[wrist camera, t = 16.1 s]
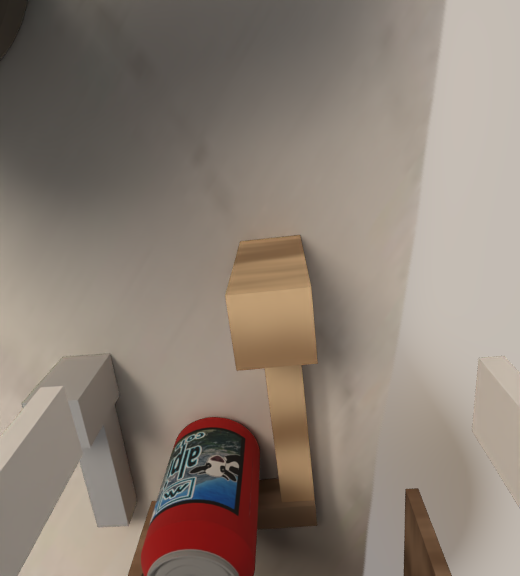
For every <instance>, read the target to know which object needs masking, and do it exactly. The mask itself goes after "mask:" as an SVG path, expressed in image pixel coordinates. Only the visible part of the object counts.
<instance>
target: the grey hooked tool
mask: <svg viewBox="0 0 520 576" xmlns="http://www.w3.org/2000/svg"><path fill="white" fill-rule="evenodd" d="M54 386H64V390H65V393H66V397H67V400H68V404H69V407H70V411H71V414H72V417H73V421H74V424H75V428H76V431H77V435H78V438H79V442H80V445H81V449H82V452H83V455H82V457H81V459H80V460H79V461H80V465H81V469H82V472H83V476H84V479H85V483H86V487H87V490H88V494H89V497H90V501H91V505H92V508H93V512H94V515H95V519H96V523H97V526H98V527H116V526H129V523H130V521H131V518H132V515H133V512H134V509H135V507H136V504H137V498H136V493H135V489H134V485H133V481H132V476H131V472H130V468H129V463H128V459H127V455H126V451H125V446H124V442H123V438H122V434H121V429H120V425H119V421H118V416H117V412H116V408H115V403H116V401H117V399H118V397H119V396H120V394H119V390H118V386H117V381H116V377H115V373H114V368H113V364H112V359H111V355H110V354H95V355H81V356H66V357H62V358H61V359H60V361H59V362H58V363H57V364H56V365H55V366H54V367H53V368H52V370H51V371H50V372H49V373H48V374H47V375H46V376H45V377H44V379H43V380H42V381H41V382H40V383H39V384H38V385H37V387H36V388H35V389H34V390H33V391H32V392H31V393H30V394H29V396H28V397H27V398H26V399H25V400H24V401H23V402H22V407H23V408H24V407H25V406H26V404H27V403H28V402H29V401H30V399H31V398H32V397H33V396H34V395H35V393H36V392H37V391H38V390H39V388H40V387H54Z"/></svg>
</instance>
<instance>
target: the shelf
mask: <svg viewBox="0 0 520 576" xmlns="http://www.w3.org/2000/svg"><path fill="white" fill-rule="evenodd" d="M405 495H406V496H405V541H404V576H452V575H451V573H450V570H449V567H448V565H447V562H446V560H445V557H444V554H443V552H442V549H441V547H440V544H439V542H438V539H437V536H436V534H435V531H434V528H433V526H432V523H431V521H430V518H429V515H428V513H427V510H426V508H425V505H424V503H423V500H422V497H421V495H420V492H419V489H406V494H405ZM155 505H156V501H152V502H151V505H150V508H149V511H148V514H147V517H146V521H145V524H144V527H143V530H142V533H141V536H140V539H139V542H138V545H137V549H136V552H135V555H134V558H133V561H132V564H131V567H130V570H129V573H128V576H144V574H143V571H142V566H141V552H142V548H143V545H144V541H145V538H146V534H147V531H148V528H149V524H150V521H151V518H152V514H153V511H154V508H155Z"/></svg>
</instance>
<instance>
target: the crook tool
mask: <svg viewBox="0 0 520 576" xmlns="http://www.w3.org/2000/svg"><path fill="white" fill-rule="evenodd" d="M225 298H226V305H227V311H228V318H229V324H230V331H231V338H232V344H233V351H234V357H235V364H236V370H237V371H239V370H250V369H261V368H265V375H266V383H267V391H268V399H269V406H270V414H271V422H272V430H273V437H274V445H275V453H276V461H277V469H278V476H279V479H266V480H259V498H258V520H257V529H272V528H288V527H303V526H317V518H316V508H315V498H314V488H313V478H312V468H311V457H310V447H309V437H308V427H307V416H306V406H305V396H304V386H303V375H302V365H307V364H318V362H317V350H316V339H315V327H314V315H313V303H312V291H311V284H310V279H309V275H308V270H307V265H306V260H305V256H304V251H303V246H302V242H301V237H300V235H296V236H286V237H277V238H267V239H258V240H249V241H240V244H239V247H238V251H237V255H236V258H235V262H234V265H233V269H232V273H231V276H230V280H229V283H228V287H227V291H226V294H225Z"/></svg>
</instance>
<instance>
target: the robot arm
mask: <svg viewBox="0 0 520 576" xmlns="http://www.w3.org/2000/svg"><path fill="white" fill-rule="evenodd" d="M26 4H27V0H0V60H1V58H2V57H3V56H4V55H5V53H6V52H7V51H8V49H9V48H10V46H11V44H12V42H13V41H14V39H15V37H16V35H17V33H18V30H19V28H20V25H21V23H22V20H23V16H24V13H25V9H26ZM472 432H473V433H474V435H475V436H476V438H477V440H478V441H479V443H480V445H481V446H482V448H483V449H484V451H485V453H486V454H487V456H488V458H489V459H490V461H491V463H492V464H493V466H494V467H495V469H496V471H497V472H498V474H499V475H500V477H501V479H502V480H503V482H504V484H505V485H506V487H507V488H508V490H509V492H510V493H511V495H512V497H513V498H514V500H515V502H516V503H517V505H518V506H519V508H520V373H519V372H518V370H517V369H516V368H515V367H514V366H513V365H512V364H511V363H510V362H509V361H508V360H507V359H506V358H505V356H498V357H482V358H479V360H478V370H477V381H476V392H475V403H474V413H473V424H472ZM82 455H83V452H82V449H81V445H80V442H79V438H78V435H77V431H76V428H75V424H74V421H73V417H72V414H71V411H70V407H69V404H68V400H67V397H66V393H65V390H64V386H54V387H40V388H39V390H38V391H37V392H36V393H35V395H34V396H33V397H32V398H31V399H30V401H29V402H28V403H27V404H26V406H25V407H24V408H23V409H22V410H21V412H20V413H19V414H18V415H17V417H16V418H15V419H14V420H13V422H12V423H11V424H10V425H9V426H8V428H7V429H6V430H5V431H4V433H3V434H2V435H1V436H0V576H18V574H19V572H20V570H21V568H22V567H23V565H24V563H25V561H26V559H27V557H28V555H29V554H30V552H31V550H32V548H33V546H34V544H35V542H36V540H37V539H38V537H39V535H40V533H41V531H42V529H43V527H44V526H45V524H46V522H47V520H48V518H49V516H50V514H51V513H52V511H53V509H54V507H55V505H56V503H57V501H58V500H59V498H60V496H61V494H62V492H63V490H64V488H65V487H66V485H67V483H68V481H69V479H70V477H71V475H72V474H73V472H74V470H75V468H76V466H77V464H78V462H79V460H80V459H81V457H82Z"/></svg>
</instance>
